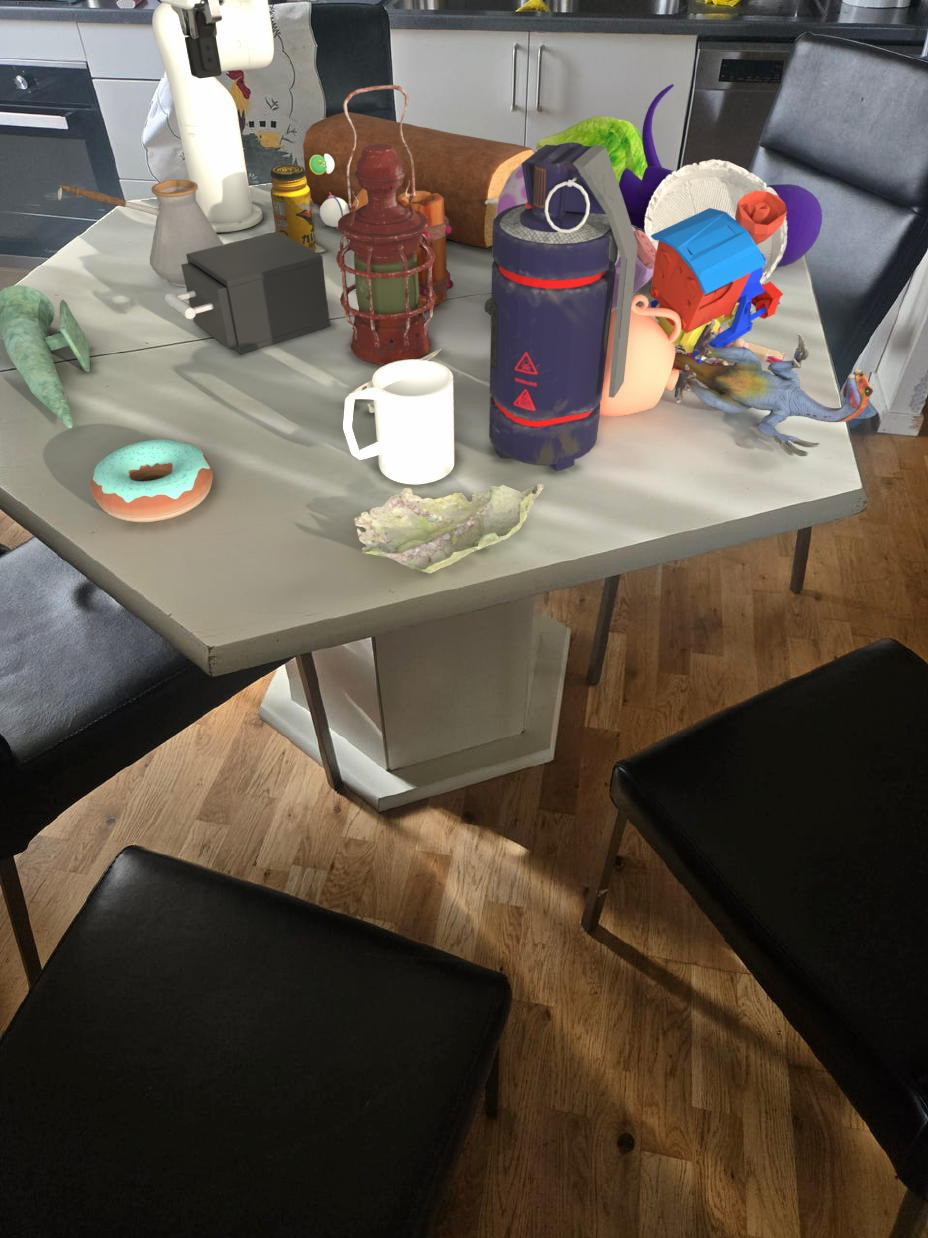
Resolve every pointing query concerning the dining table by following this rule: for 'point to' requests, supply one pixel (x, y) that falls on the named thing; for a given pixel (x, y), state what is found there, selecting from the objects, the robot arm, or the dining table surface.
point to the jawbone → (369, 385)
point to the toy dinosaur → (763, 388)
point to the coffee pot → (168, 225)
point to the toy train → (716, 270)
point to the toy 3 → (798, 200)
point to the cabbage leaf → (443, 525)
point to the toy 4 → (760, 351)
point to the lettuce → (607, 142)
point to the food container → (710, 202)
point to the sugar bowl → (642, 361)
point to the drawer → (205, 304)
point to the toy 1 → (333, 205)
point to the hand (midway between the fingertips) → (206, 75)
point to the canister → (558, 305)
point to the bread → (419, 168)
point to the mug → (436, 234)
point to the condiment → (293, 205)
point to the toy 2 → (645, 252)
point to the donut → (139, 500)
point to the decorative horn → (40, 343)
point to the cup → (409, 421)
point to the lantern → (385, 257)
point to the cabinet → (268, 288)
